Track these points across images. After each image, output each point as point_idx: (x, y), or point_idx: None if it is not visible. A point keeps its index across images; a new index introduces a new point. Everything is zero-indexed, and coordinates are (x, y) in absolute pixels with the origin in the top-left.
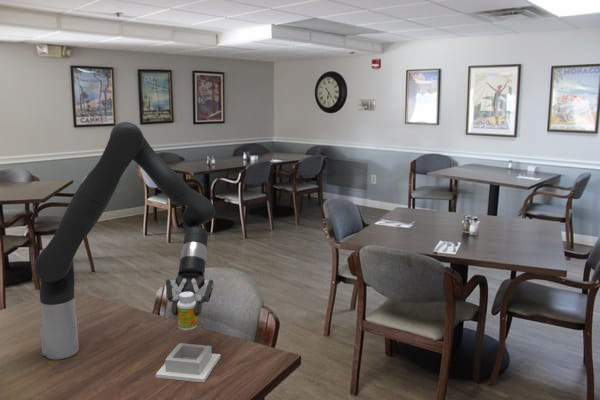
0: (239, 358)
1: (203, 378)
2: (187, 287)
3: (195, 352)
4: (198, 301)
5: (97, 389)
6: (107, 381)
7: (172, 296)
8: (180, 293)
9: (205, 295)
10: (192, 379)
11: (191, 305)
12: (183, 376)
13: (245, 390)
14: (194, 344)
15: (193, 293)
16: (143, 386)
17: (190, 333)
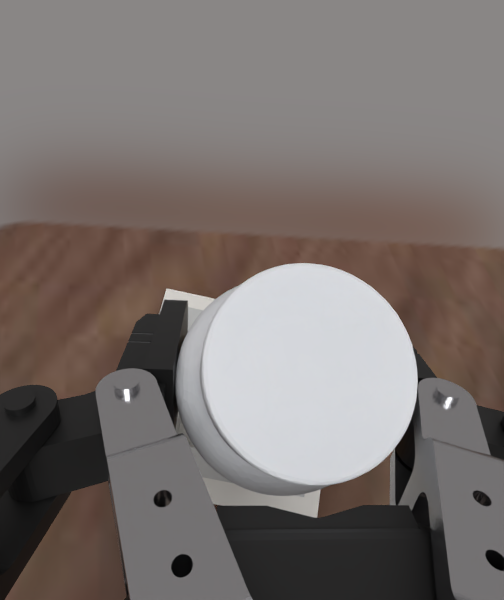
0: None
1: (168, 293)
2: (358, 574)
3: None
4: (144, 366)
5: (483, 270)
6: (477, 311)
7: (499, 442)
8: (412, 393)
9: (20, 421)
10: (207, 298)
11: (219, 298)
12: None
13: (24, 242)
14: (226, 481)
15: (206, 392)
16: None
17: None
